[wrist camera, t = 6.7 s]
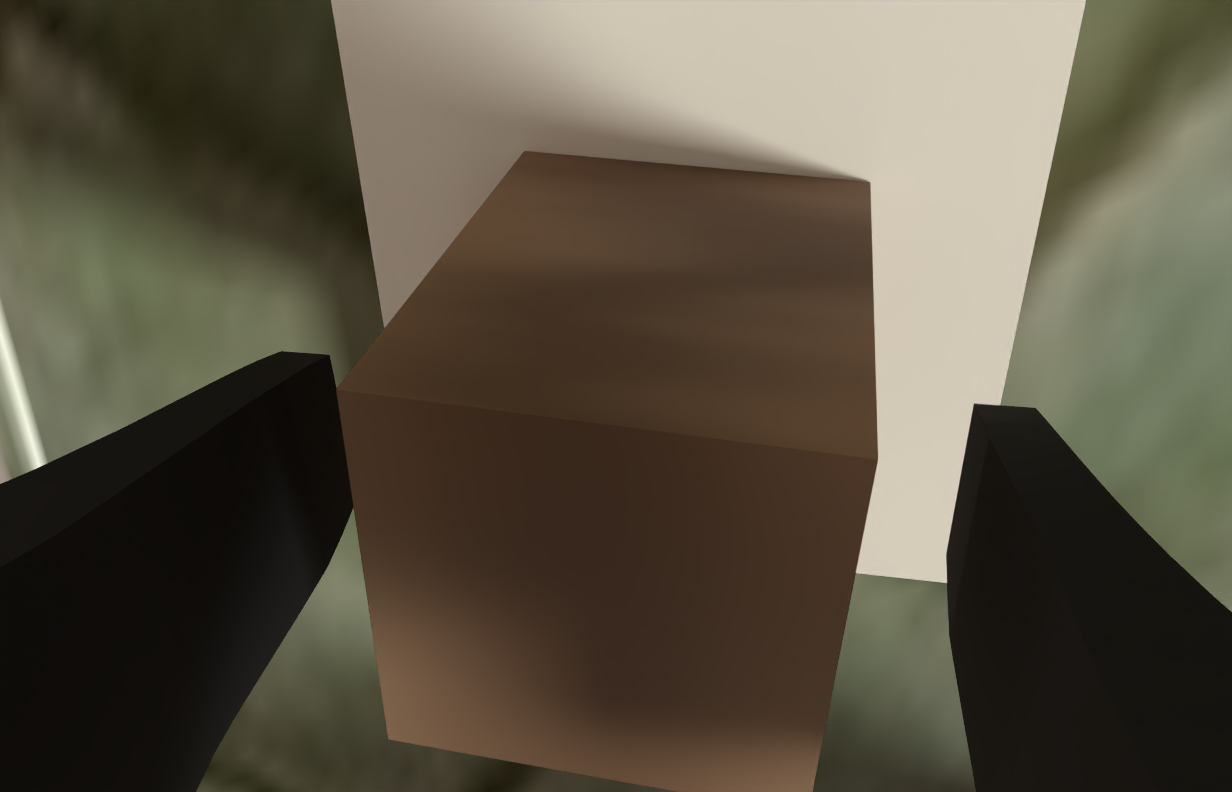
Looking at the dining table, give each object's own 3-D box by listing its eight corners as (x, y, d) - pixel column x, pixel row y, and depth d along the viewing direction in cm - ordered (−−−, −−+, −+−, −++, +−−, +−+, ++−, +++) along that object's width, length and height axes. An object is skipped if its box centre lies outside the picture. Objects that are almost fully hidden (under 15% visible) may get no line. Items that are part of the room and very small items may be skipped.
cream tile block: (1048, -70, 14) (1091, -26, 11) (947, 470, 19) (961, 585, 16) (409, -74, 15) (325, -36, 13) (469, 427, 20) (416, 524, 18)
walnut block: (871, 182, 13) (878, 460, 8) (824, 467, 16) (807, 814, 11) (523, 150, 14) (335, 390, 9) (532, 429, 16) (387, 739, 11)
